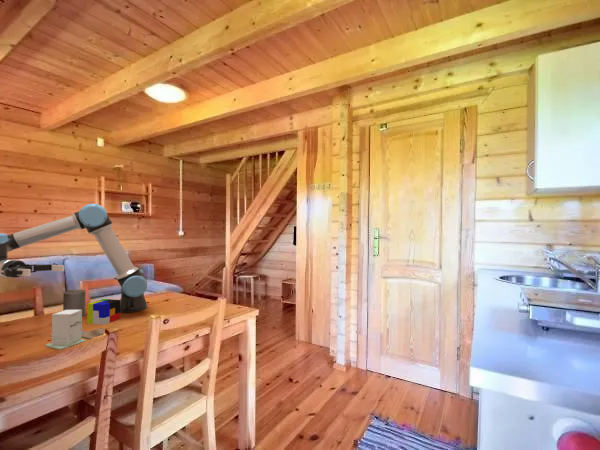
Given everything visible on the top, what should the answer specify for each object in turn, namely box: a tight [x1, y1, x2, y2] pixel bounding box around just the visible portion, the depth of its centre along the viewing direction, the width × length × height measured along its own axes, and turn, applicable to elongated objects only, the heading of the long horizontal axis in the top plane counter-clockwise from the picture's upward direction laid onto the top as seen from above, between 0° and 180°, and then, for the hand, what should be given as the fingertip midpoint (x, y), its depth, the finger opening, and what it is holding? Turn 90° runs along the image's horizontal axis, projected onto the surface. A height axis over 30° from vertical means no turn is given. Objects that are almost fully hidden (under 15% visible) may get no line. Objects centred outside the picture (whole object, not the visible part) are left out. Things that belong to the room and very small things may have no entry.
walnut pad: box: [82, 327, 106, 340], centre depth 136 cm, size 10×10×1 cm
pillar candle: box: [62, 288, 86, 318], centre depth 163 cm, size 10×10×15 cm
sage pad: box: [45, 338, 88, 351], centre depth 125 cm, size 10×10×1 cm
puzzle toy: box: [86, 298, 121, 325], centre depth 156 cm, size 10×10×10 cm
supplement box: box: [51, 310, 83, 345], centre depth 126 cm, size 7×7×13 cm
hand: (47, 270), depth 129 cm, fingers open, 13 cm apart
